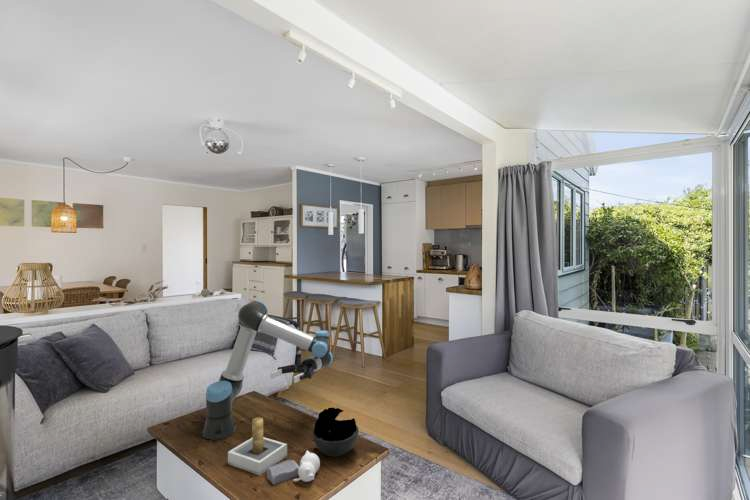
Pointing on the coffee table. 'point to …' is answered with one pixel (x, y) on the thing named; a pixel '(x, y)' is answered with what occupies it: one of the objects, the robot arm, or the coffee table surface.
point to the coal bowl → (334, 433)
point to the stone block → (282, 471)
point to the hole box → (257, 464)
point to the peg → (257, 435)
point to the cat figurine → (308, 467)
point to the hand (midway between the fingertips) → (282, 377)
